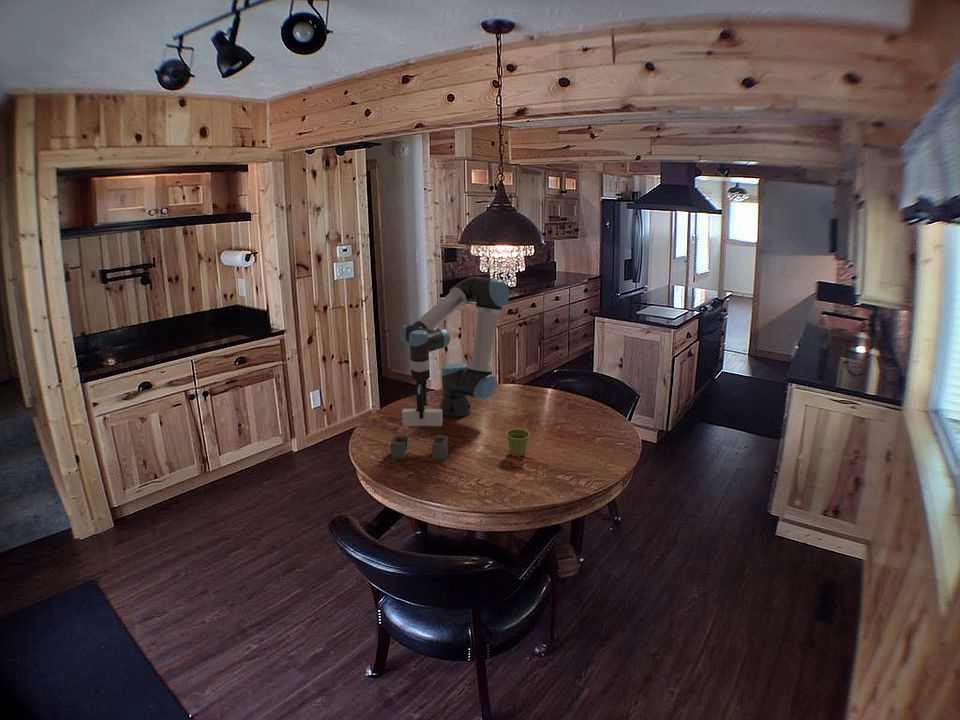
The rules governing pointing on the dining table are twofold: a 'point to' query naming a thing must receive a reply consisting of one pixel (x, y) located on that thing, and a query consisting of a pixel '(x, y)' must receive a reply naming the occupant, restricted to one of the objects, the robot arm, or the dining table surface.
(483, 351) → the robot arm
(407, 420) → the light grey long block
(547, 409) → the dining table surface
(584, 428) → the dining table surface
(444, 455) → the endcap rack
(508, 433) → the plant pot
